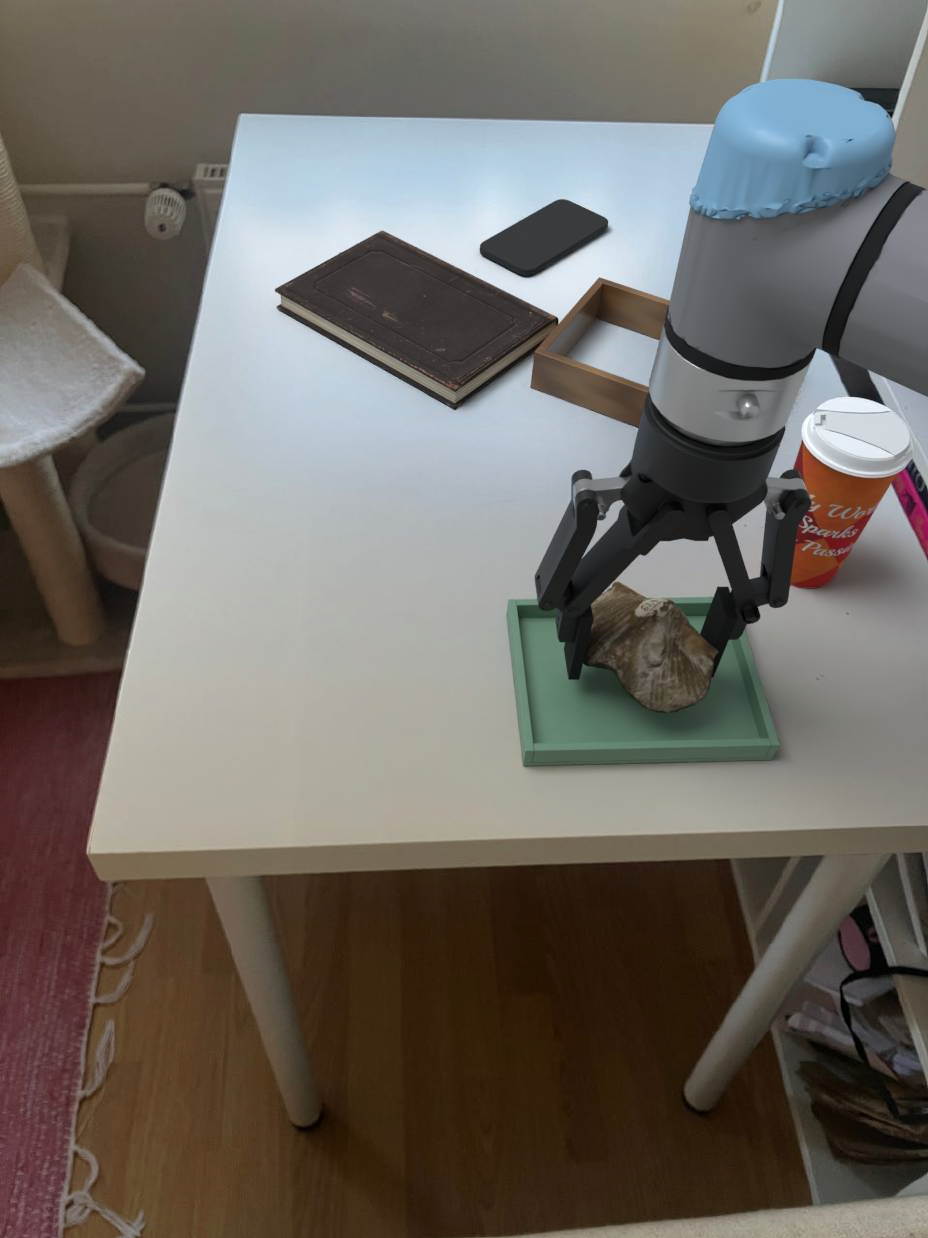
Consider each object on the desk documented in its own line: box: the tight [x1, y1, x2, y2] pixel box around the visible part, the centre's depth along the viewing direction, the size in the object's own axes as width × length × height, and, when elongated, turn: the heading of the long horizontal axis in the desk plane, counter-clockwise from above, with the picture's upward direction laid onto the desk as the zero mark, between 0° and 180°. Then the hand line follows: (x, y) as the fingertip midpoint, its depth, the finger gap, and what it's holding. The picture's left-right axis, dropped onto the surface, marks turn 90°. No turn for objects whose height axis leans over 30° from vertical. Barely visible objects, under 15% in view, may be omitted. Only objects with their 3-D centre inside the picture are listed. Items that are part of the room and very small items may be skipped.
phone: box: [479, 198, 609, 277], centre depth 110 cm, size 7×1×15 cm
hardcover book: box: [274, 230, 560, 410], centre depth 99 cm, size 16×23×2 cm
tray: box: [505, 596, 781, 767], centre depth 71 cm, size 17×13×2 cm
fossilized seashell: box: [583, 581, 719, 713], centre depth 68 cm, size 8×7×10 cm
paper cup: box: [790, 396, 914, 589], centre depth 75 cm, size 8×8×14 cm
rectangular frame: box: [529, 276, 670, 428], centre depth 94 cm, size 20×15×4 cm
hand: (638, 662), depth 70 cm, fingers closed on fossilized seashell, 9 cm apart
